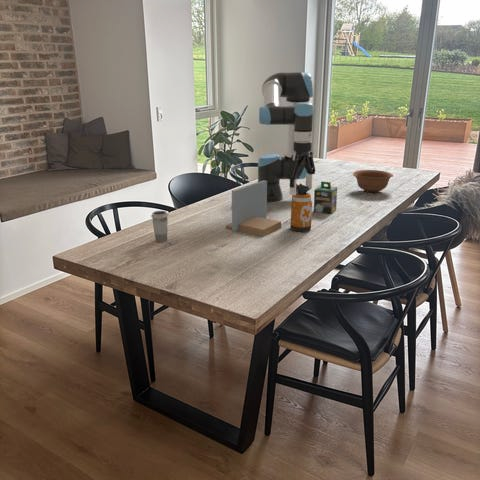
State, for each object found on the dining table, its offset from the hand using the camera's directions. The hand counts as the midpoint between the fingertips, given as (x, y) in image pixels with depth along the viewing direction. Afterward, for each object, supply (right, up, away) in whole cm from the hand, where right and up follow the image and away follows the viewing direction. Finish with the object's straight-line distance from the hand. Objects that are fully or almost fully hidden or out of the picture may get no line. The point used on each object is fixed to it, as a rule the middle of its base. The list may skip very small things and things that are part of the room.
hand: (300, 191), depth 209 cm
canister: (0, -16, +6) cm, 17 cm away
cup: (-58, -21, -8) cm, 63 cm away
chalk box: (+16, -6, +32) cm, 37 cm away
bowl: (+48, +6, +67) cm, 83 cm away
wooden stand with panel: (-18, -14, +9) cm, 25 cm away
